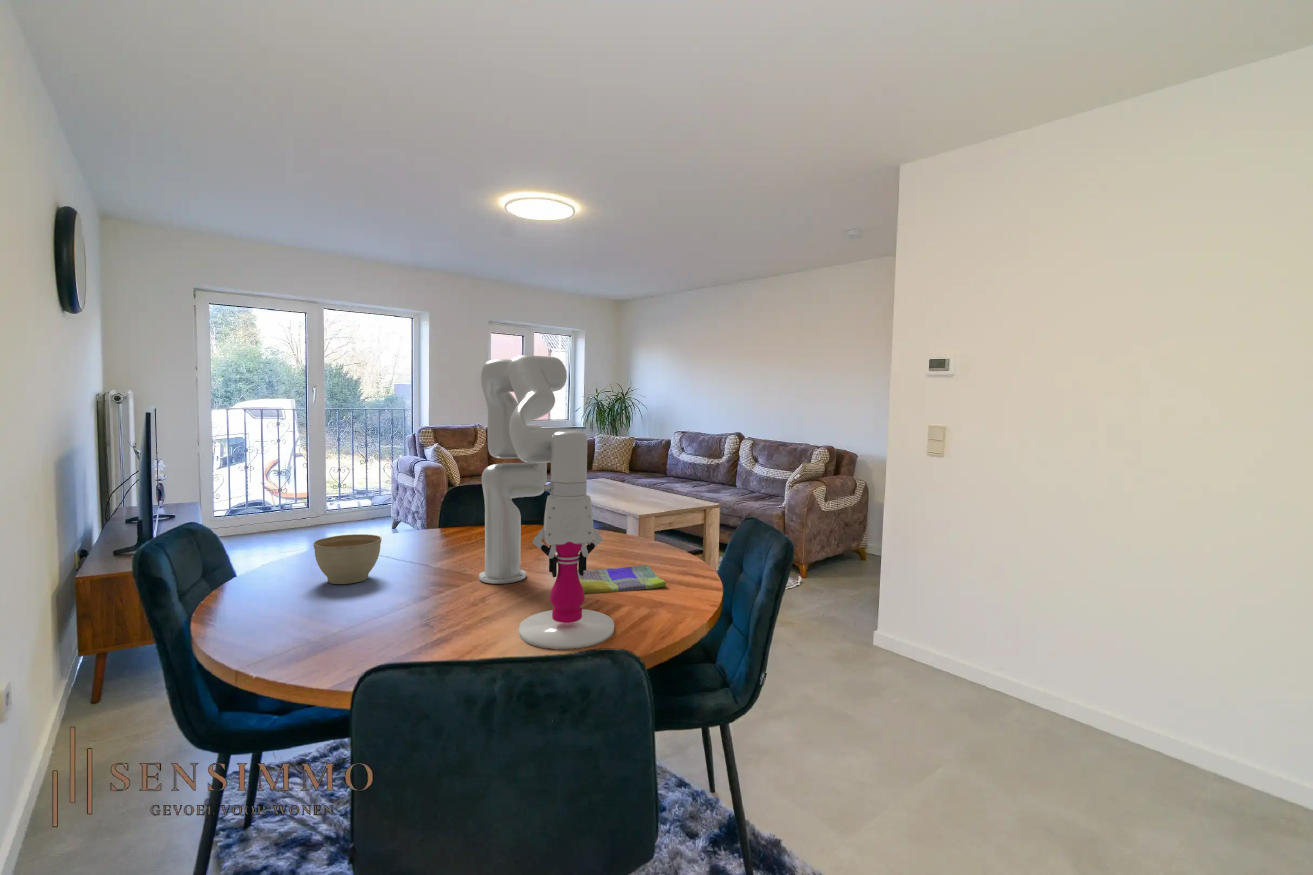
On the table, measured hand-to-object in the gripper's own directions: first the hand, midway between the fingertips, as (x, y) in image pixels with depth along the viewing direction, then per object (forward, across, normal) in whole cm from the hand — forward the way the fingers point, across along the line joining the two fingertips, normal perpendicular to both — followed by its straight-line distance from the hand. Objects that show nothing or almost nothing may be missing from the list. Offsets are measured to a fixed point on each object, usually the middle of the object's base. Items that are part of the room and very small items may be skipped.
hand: (567, 573), depth 125 cm
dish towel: (+13, +17, +32) cm, 39 cm away
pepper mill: (+10, 0, 0) cm, 10 cm away
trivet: (+12, 0, 0) cm, 12 cm away
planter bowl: (+13, -53, +48) cm, 73 cm away
